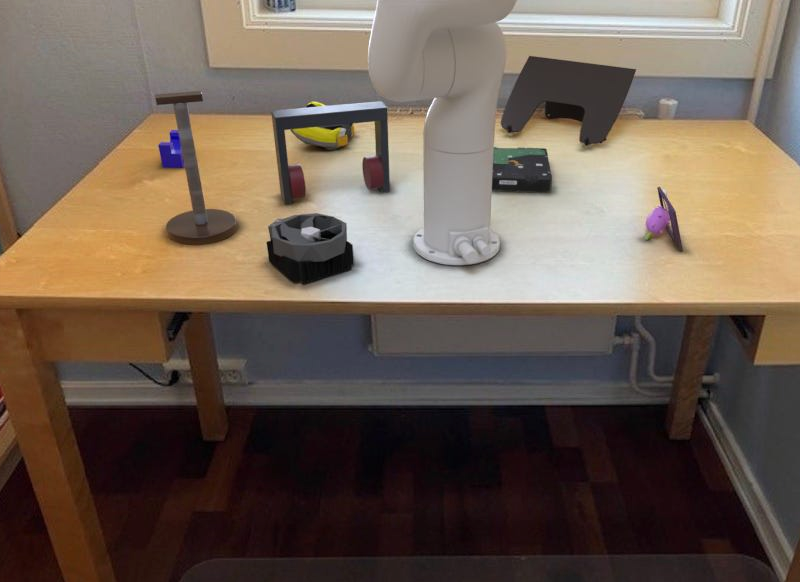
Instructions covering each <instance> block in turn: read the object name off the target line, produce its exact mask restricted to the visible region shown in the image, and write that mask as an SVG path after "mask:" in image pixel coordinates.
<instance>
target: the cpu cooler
mask: <svg viewBox="0 0 800 582" xmlns="http://www.w3.org/2000/svg"><path fill="white" fill-rule="evenodd" d="M267 229H268V236H269V239H270V240H268V241H266V248H267V249H266V250H267V255H268V262H269V263H270V264H271V265H272V266H273V267H274V268H276V269H277V270H278V271H279V272H280V273H282V274H283V275H284V276H285V278H287V279H288V280H290V281H291V282H292V283H293V284H295V283H299V282H301V284H303V285H304V284H305V285H306V284H307V283H311V282H314V281H317V280H320V279H324V278H326V277H329V276H332V275H333V276H334V275H336V274H339V273H343V272H346V271H350V270H352V266H354V265H355V263H354V261H355V260H354V247H353V244H352V243H351V242H349V241H348V226H347V222H345V221H343V220H341V219H339V218H337V217H335V216H332V215H328V214H323V213H318V212H313V213H302V214H294V215H290V216H287V217H285V218H277V219H276V220H274V221H273V222H272V223H271V224H269V225H268V226H267Z"/></svg>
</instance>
